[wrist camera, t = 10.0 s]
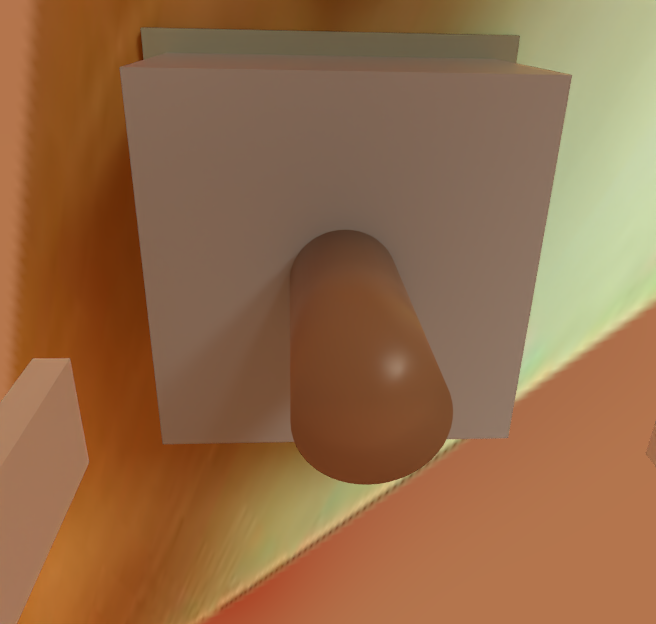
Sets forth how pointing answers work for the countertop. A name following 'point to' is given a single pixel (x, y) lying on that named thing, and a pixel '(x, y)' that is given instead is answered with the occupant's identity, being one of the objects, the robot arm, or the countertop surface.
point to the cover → (340, 247)
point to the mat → (327, 43)
